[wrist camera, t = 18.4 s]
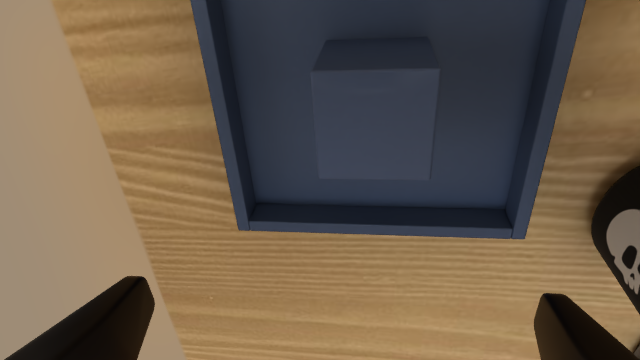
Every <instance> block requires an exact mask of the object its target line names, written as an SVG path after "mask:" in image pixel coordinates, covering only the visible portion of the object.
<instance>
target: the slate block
mask: <svg viewBox="0 0 640 360" xmlns="http://www.w3.org/2000/svg"><path fill="white" fill-rule="evenodd" d="M440 77H441V69H440V66H439V63H438V61H437V58H436V56H435V53H434V51H433V48H432V46H431V43H430V40H429V38H428V37H411V38H380V39H350V40H326V41H325V42H324V44H323V47H322V49H321V51H320V53H319V55H318V57H317V60H316V62H315V64H314V66H313V68H312V70H311V87H312V100H313V113H314V127H315V140H316V154H317V167H318V177H319V178H320V179H375V180H430V179H431V173H432V162H433V152H434V141H435V130H436V120H437V109H438V98H439V88H440Z"/></svg>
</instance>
